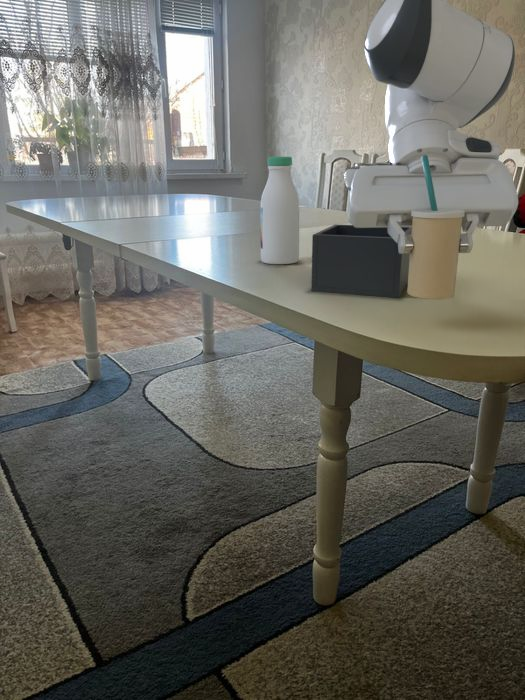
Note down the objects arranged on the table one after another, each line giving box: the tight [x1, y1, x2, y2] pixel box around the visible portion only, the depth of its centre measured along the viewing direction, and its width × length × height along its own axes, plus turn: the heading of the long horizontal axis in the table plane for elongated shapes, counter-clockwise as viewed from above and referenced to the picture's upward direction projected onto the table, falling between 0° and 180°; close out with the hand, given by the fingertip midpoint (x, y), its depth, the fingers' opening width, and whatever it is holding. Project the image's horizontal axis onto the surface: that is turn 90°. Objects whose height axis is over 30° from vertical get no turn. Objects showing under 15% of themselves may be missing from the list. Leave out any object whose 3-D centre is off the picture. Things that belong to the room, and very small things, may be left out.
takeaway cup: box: [406, 155, 465, 300], centre depth 64 cm, size 6×6×16 cm
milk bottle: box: [259, 156, 300, 265], centre depth 106 cm, size 8×8×20 cm
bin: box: [310, 223, 412, 299], centre depth 88 cm, size 14×14×9 cm
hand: (435, 250), depth 65 cm, fingers closed on takeaway cup, 5 cm apart
